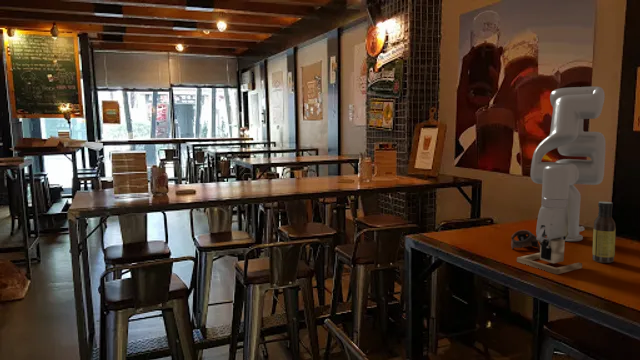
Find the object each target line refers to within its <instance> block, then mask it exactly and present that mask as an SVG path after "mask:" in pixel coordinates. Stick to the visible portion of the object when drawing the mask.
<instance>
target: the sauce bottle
mask: <svg viewBox="0 0 640 360" xmlns="http://www.w3.org/2000/svg"><path fill="white" fill-rule="evenodd" d="M613 203H614V202H611V201H598V214H597V217H596V218H595V220H594V222H593V229H592V230H593V231H592V232H593V234H592V253H591V254H592V261H594V262H597V263H603V264H607V263H609V264H610V263H613V262H614V261H615V259H614V258H615V255H616V254H615V253H616V252H615V251H616V232H617V231H616V230H617V228H616V227H617V226H616V222H615V220H614V219H613V217H612V216H613V207H614V204H613Z"/></svg>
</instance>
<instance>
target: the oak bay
mask: <svg viewBox="0 0 640 360" xmlns="http://www.w3.org/2000/svg"><path fill="white" fill-rule="evenodd" d="M535 260H540V252H536V253H532V254H527V255H523V256H522V255H521V256H517V257H516V262H517V263H520V264H522V265H525V264H526V266H528V265H529V266H528V267H531V268H536V269H538V268H539V269H538V270H541V269H542V270H541V271H544V270H545V272H548V273H551V274H554V275H560V274H563V273H568V272H572V271H576V270H579V269H583V263H582V262H579V261H578V262H576V263H575V262H574V263H571V264H567V265H562V266H559V267H554V266H551V265H549V264H548V265H547V264H545V263H541V262H538V261H535Z"/></svg>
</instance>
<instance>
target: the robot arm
mask: <svg viewBox="0 0 640 360" xmlns="http://www.w3.org/2000/svg"><path fill="white" fill-rule="evenodd" d="M549 95H550V96H549V100H550V105H551V106H552V114H551V124H550V130H549V131H550V132H549V135H548V136H547V137H546V138H544V139H542V140H541V142H539V143H538V145H537V146H536V148H535V149H534V151H533V155H532V159H531V165H530V179H531V181H532V182H533V183H535V184H537V185H538V184H540V185H541V187H542V189H541V202H540V204H541V206H540V207H539V211H538V215H537V221H536V230H535V232H536V233H535V234H536V235H535V236H536V240H537V241H538V243H539V245H540V246H541V258H542V259H546V260H551V248H550V246H551V241H552V239H556V238H558V239H562V240H565V242H580V241H582V240H583V239H584V238H583V237H584V236H583V235H582V234H580V233H581V232H583V231H585V227H584V226H581V225H580V216H581V215H580V214H581V213H580V211H581V199H582V196H581V192H580V191H579V190H578V188H577V187H576V186H575V185H587V186H588V185H589V186H591V185H592V186H595V185H596V186H597V185H600V184H601V183H602V182H603V180H604V176H605V166H606V165H605V164H606V163H605V162H606V138H605V136H604V134H603V133H602V132H599V131H584V121H585V120H590V119H591V120H593V119H594V120H595V119H598V118H599V117H600V116H601V114H602V111H603V107H604V104H605V103H604V102H605V96H606V95H605V91H604V88H602V87H601V86H581V87H580V86H576V87H572V86H571V87H561V88H556V89H554V90H552V91H551V93H550V94H549ZM555 149H557V152H558V153H559V155H561V156H564V157H586V158H587V157H588V158H590V159H575V158H574V159H573V158H572V159H571V158H567V159H566V158H563V159H559V160H556V161H555V162H554V161H542V160H543V157H544V156H545V155H547V154H548V153H549V152H551V151H552V150H555ZM545 239H546V240H548V242H546V241H545Z"/></svg>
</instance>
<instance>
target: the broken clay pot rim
mask: <svg viewBox="0 0 640 360" xmlns="http://www.w3.org/2000/svg"><path fill="white" fill-rule="evenodd" d="M516 237H517V239H518V240H516V239H515V238H516ZM536 237H537V235H535V234H533V233H532V232H531V231H530V230H528V229H520V230H517V231H515V232H514V233H513V234H511V238H510V239H511V242H510V246H511V250H514V249H519V248H520V249H521V248H526V247H528V248H531V247H532V248H537V249H538V251H539V252H540V243H539V242H538V241H537V240H536Z"/></svg>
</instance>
